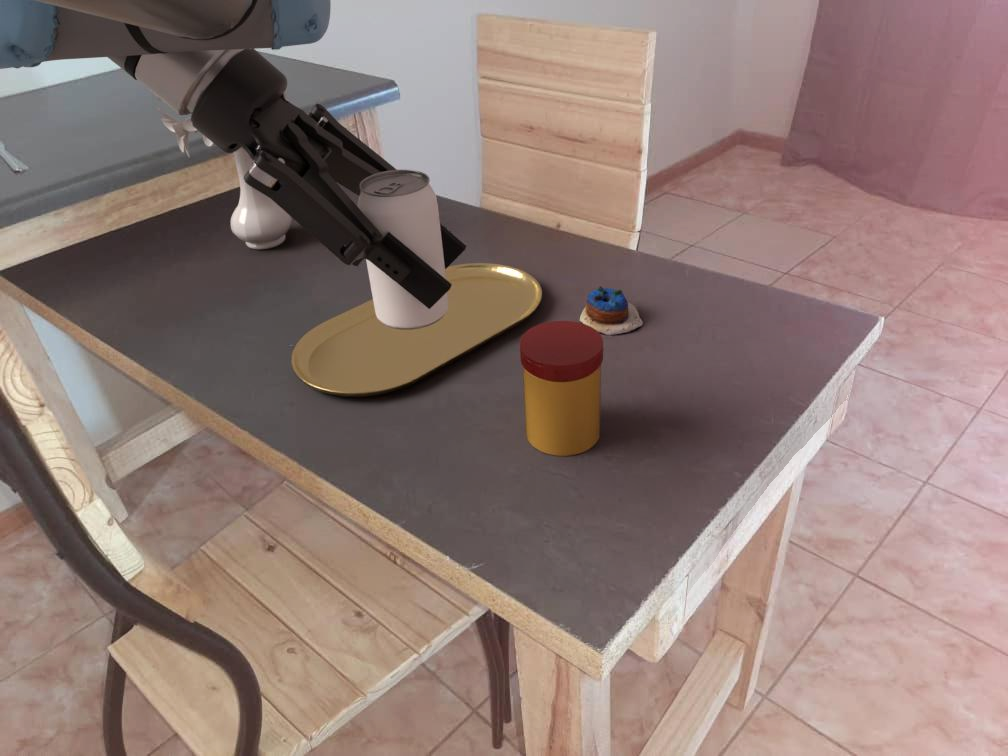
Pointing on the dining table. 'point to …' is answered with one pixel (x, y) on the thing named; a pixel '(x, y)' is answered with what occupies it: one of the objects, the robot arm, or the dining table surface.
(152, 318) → the dining table surface
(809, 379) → the dining table surface
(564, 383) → the jar
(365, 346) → the serving platter
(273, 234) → the flower vase
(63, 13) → the robot arm
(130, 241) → the dining table surface
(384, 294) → the can
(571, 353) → the jar lid
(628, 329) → the dessert
